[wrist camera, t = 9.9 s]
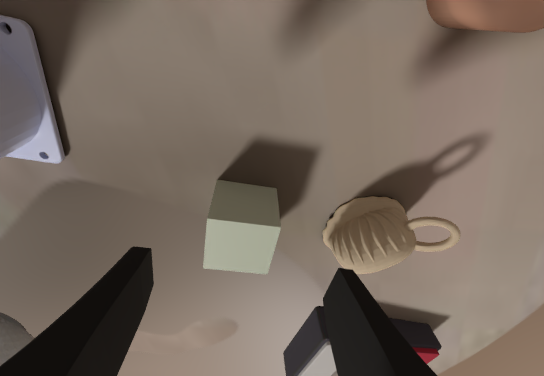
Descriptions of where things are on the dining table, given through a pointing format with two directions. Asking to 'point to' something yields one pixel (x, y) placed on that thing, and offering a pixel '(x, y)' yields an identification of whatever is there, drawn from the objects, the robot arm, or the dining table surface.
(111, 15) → the dining table surface
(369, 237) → the cream ribbed piece
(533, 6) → the terracotta cylinder
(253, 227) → the sage block
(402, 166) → the dining table surface
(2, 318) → the cereal bowl
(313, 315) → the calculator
